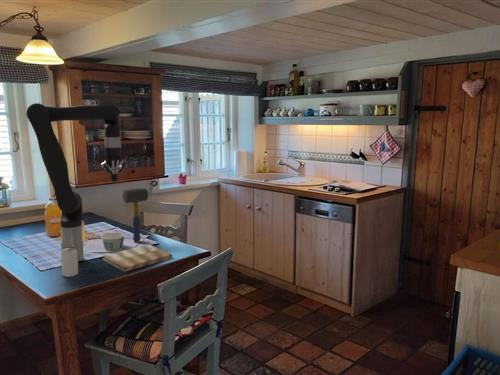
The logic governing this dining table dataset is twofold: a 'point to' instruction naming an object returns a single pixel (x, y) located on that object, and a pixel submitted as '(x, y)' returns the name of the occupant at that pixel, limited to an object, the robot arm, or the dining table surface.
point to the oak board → (142, 260)
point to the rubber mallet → (135, 207)
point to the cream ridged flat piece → (129, 253)
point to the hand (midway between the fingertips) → (114, 181)
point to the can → (69, 261)
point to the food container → (113, 240)
